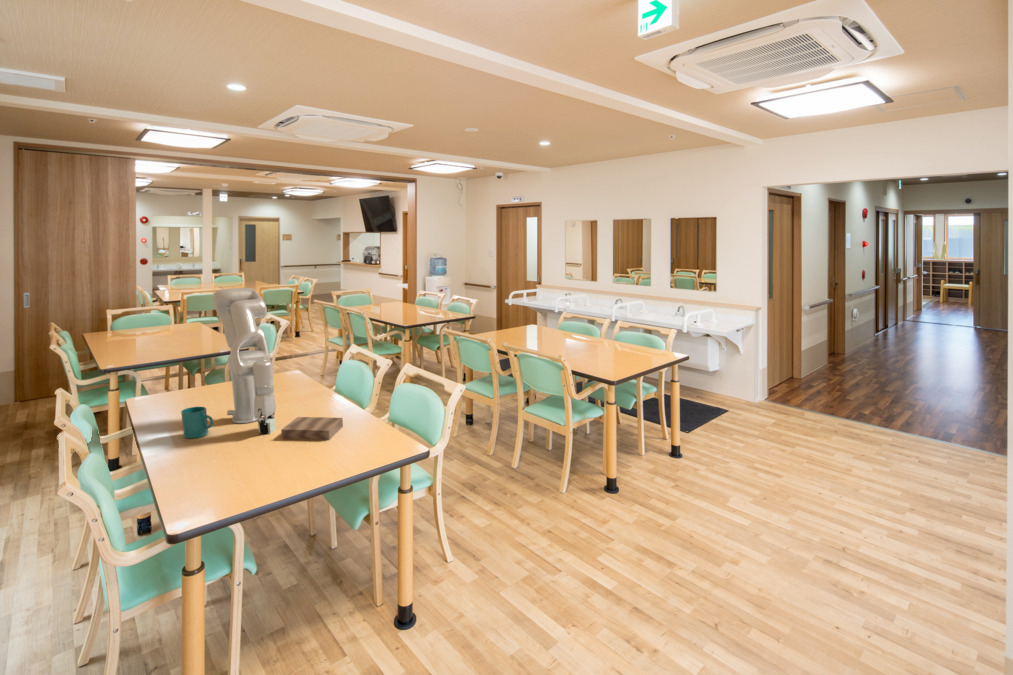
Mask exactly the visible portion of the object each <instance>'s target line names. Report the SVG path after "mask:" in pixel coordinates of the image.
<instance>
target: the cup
mask: <svg viewBox="0 0 1013 675" xmlns="http://www.w3.org/2000/svg"><path fill="white" fill-rule="evenodd" d="M180 414H181V421H182V423H181V424H182V430H183V432H182V433H183V437H184V438H185V439H188V438H195V439H199V437H200V438H203V436H204V437H206V436H207V435H208V434H209V431H210V430H209V429H211V428H212V427H213V425H214V422H215V421H214V419H213V418H212V416H210V415H208V413H207V408H206V407H205V406H191V407H188V408H184V409H181V412H180ZM208 420H209V421H210V424H209V423H208V422H209V421H208ZM205 435H206V436H205Z"/></svg>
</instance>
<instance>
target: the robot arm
mask: <svg viewBox="0 0 1013 675" xmlns="http://www.w3.org/2000/svg"><path fill="white" fill-rule="evenodd" d="M212 304H213V307H214V310H215V312H216V314H217V315H218V316H219V319H220V322H221V324H222V328H223V332H224V336H225V339H226V340H225V341H226V343H227V346H228V348H229V349H230V354H229V356H228V357H227V365H228V369H229V373H230V377H231V384H232V386H231V387H232V396H233V407H234V409H227V412H226V415H227V416H232V417H231V422H232V423H235V424H248V423H254V422H257V423H259V425H260V433H261V435H262V434H263V435H265V434H266V435H268V434H267V433H268V424H267V419H275V415H276V414H275V413H276V407H277V405H276V397H275V385H274V373H273V372H274V371H273V364H272V362H271V355H270V351H269V347H268V343H267V339H266V335H265V332H264V330H263V329H262V328H261V327H259V326H257V323H256V319H261V318H265V317H266V316H267V315H268V314H267V313H268V308H267V305H266V302H265V300H263V298H262V296H261V295H260V294H259V293H258V292H257V290H256V289H254V287H253V288H252V287H234V288H233V287H232V288H222V289H219V290H216V291H215V292H214V293H213V295H212ZM249 348H253V349H249ZM240 349H241V350H242V349H243V350H242V351H241V350H240ZM244 349H248V350H244ZM262 419H264V421H263V420H262Z"/></svg>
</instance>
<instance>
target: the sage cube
mask: <svg viewBox="0 0 1013 675" xmlns="http://www.w3.org/2000/svg"><path fill="white" fill-rule="evenodd" d="M262 420H263V421H264V419H262ZM257 423H258V422H257ZM267 424H268V434H267V435H271V434H272V433H274V432H276V431H277V424H276V418H274V419H267ZM273 431H274V432H273ZM259 433H260V425H259V423H258V434H259Z"/></svg>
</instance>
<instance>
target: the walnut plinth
mask: <svg viewBox="0 0 1013 675" xmlns="http://www.w3.org/2000/svg"><path fill="white" fill-rule="evenodd" d="M342 428H344V420H343V417H321V416H320V417H319V416H317V417H315V416H313V417H311V416H297V417H296V418H294V419H293V420H292V421H291V422H290V423H288V424H286V425H285V426H284V427H283V428H281V430H280V432H281V439H282V440H315V441H316V440H318V441H322V440H323V441H330V440H331V439H332V438H333V437H334V436H335V435H336V434H337V433H338V432H339V431H340V430H341V429H342Z"/></svg>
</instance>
